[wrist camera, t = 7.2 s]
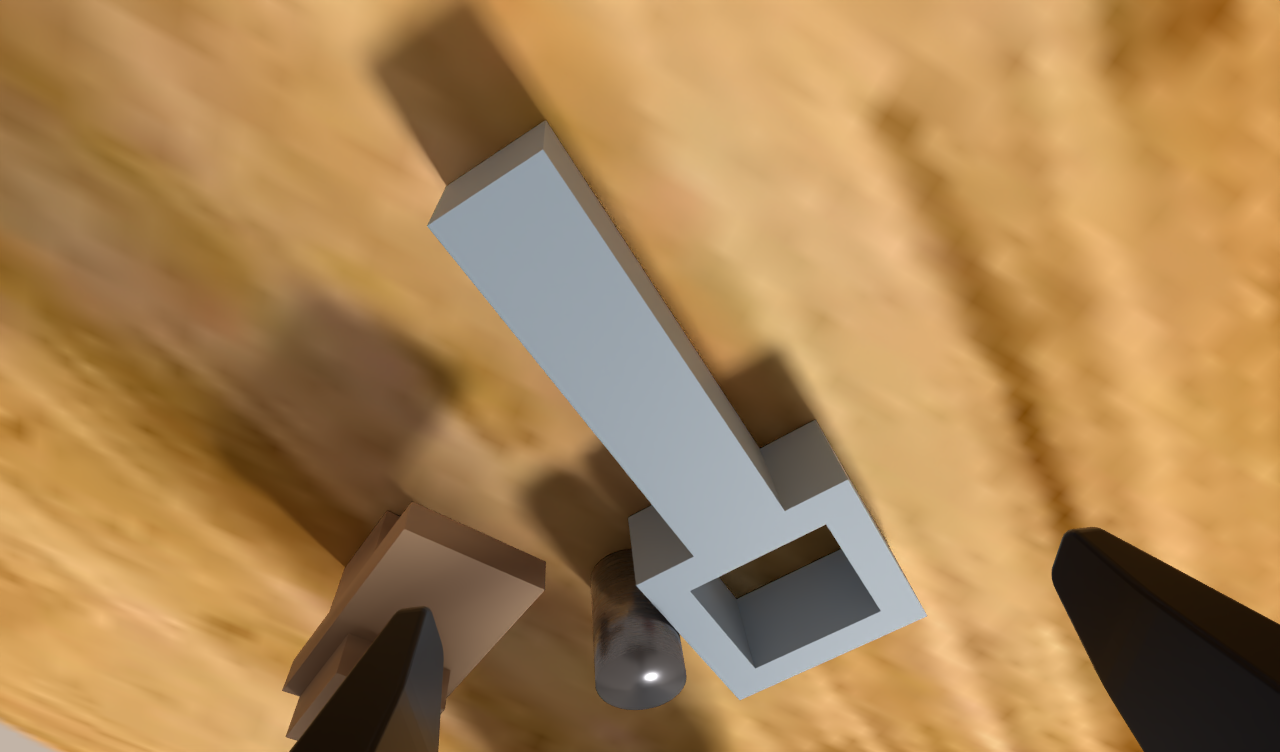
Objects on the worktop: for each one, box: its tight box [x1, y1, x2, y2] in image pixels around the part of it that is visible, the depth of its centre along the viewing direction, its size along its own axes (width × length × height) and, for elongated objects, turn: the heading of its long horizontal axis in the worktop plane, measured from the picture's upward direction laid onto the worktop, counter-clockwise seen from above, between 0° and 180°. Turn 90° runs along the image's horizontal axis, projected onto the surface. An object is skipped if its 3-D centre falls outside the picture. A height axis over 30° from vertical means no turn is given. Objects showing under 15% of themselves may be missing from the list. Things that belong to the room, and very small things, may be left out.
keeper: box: [282, 502, 546, 741], centre depth 21 cm, size 4×7×6 cm, turn 143°
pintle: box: [591, 549, 686, 710], centre depth 24 cm, size 3×3×4 cm
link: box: [427, 120, 927, 700], centre depth 21 cm, size 19×7×3 cm, turn 31°
